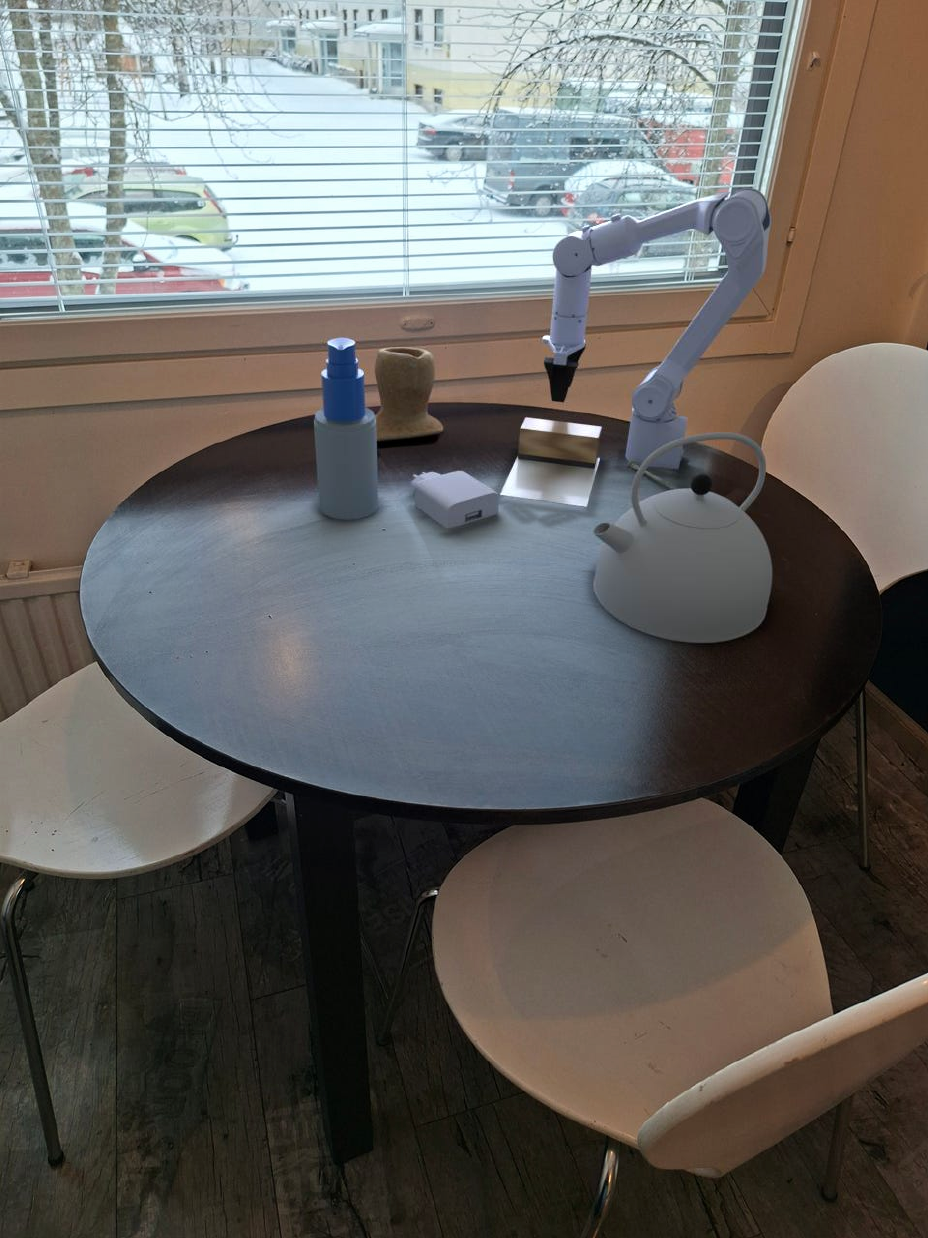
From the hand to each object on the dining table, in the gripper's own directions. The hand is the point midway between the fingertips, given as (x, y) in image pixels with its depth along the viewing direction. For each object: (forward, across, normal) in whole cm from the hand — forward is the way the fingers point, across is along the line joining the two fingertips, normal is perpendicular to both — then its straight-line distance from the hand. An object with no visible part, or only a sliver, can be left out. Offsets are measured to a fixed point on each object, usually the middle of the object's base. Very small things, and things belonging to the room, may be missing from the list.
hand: (561, 393), depth 150 cm
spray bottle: (+10, +33, -27) cm, 44 cm away
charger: (+10, +29, -13) cm, 33 cm away
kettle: (+10, +44, +22) cm, 50 cm away
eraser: (+8, +8, +1) cm, 12 cm away
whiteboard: (+9, +15, +2) cm, 18 cm away
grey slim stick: (+10, +15, +21) cm, 28 cm away
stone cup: (+10, +4, -28) cm, 30 cm away
